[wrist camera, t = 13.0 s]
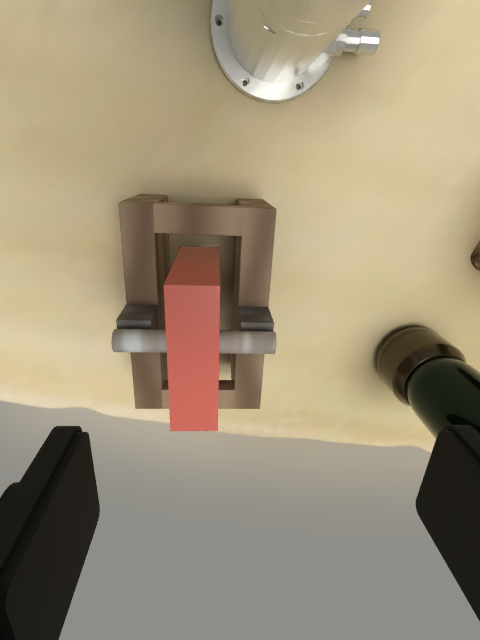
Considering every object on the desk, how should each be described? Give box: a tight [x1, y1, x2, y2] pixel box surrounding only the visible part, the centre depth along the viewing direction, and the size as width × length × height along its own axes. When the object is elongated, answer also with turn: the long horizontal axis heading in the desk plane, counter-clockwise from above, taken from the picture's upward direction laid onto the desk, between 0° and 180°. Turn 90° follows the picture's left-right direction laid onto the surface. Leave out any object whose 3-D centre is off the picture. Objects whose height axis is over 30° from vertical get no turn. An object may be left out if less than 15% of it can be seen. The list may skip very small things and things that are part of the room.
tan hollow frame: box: [112, 194, 276, 409], centre depth 38 cm, size 14×22×16 cm, turn 177°
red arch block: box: [164, 247, 220, 431], centre depth 34 cm, size 4×13×13 cm, turn 178°
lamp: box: [377, 327, 480, 439], centre depth 41 cm, size 10×10×22 cm
